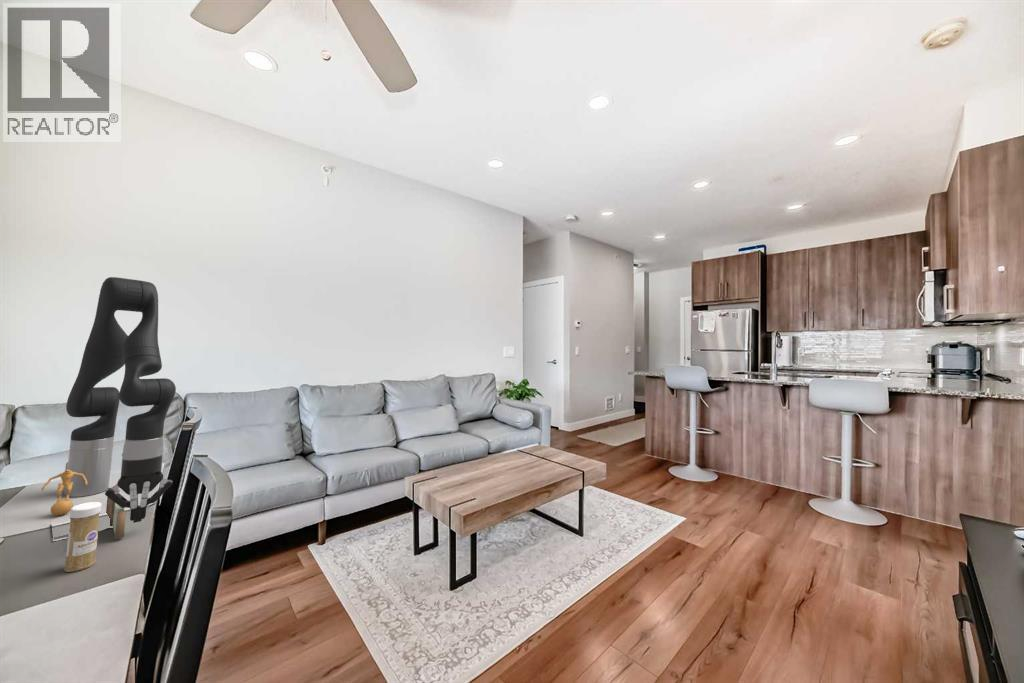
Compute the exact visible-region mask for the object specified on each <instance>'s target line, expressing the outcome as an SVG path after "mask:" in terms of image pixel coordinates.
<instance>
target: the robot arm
mask: <svg viewBox="0 0 1024 683" xmlns="http://www.w3.org/2000/svg"><path fill="white" fill-rule="evenodd" d="M117 311H124V312H135V313H142V317H141V319H140V322H139V323H138V324H137V325H136V327H135V328H134V329H133V330H132V331H131V332H130V334H129V335H128V334H127V332H125V330H124V329H123V328H122V326H120V324H119V322H118V321H117V318H116V316H115V313H116V312H117ZM95 312H96V313H95V316H94V321H93V324H92V328H91V331H90V333H89V336H88V339H87V342H86V343H85V346H84V347H85V348H84V351H83V354H82V358H81V362H80V367H79V370H78V374H77V377H76V378H75V381H74V383H73V386H72V388H71V390H70V392H69V395H68V398H67V399H66V405H65V406H66V408H65V409H66V413H67V415H68V416H70V417H72V418H89V417H90V418H91V417H99V418H98V419H96V420H95V421H93V422H91V423H88V424H86V425H84V426H83V425H82V426H80V427H77V428H74V429H73V430H72V431H71V433H70V444H69V449H68V460H67V462H66V463H65V466H64V467H65V468H64V469H65V470H71V471H72V472H77V473H80V474H83V475H84V476H85V478H86V480H87V482H88V485H86V483H85V481H84V479H83V478H82V476H77V475H73V477H72V478H71V480H70V482H73V485H72V489H71V491H70V492H71V493H70V494H69V498H74V497H75V498H76V497H86V496H93V495H96V494H99V493H102V492H104V495H105V496H106V497H108V498H110V499H111V500H112V501H114V502H115V503H116V504H117V505H119V506H120V507H121V508H124V509H125V508H128V509H130V514H129V515H130V517H129V520H130V521H133V522H132V523H133V524H134V523H141V522H142V520H143V519H145V517H146V515H147V506H149V505H151V504H154V503H156V502H157V501H158V500H159V499H160V498H161V497H162V496H163V494H165V493H166V491H168V490H169V489H170V488H171V486H172V485H173V479H167V478H165V477H164V474H163V472H162V466H163V453H164V426H165V420H166V417H167V414H168V411H169V408H170V407H171V405H172V402H173V400H174V399H175V396H176V389H177V387H176V384H175V383H174V381H173V380H172V379H169V378H166V377H165V378H164V377H163V378H142V377H146V376H152V375H155V374H157V373H159V372H160V371H161V370H162V367H163V363H162V358H161V352H160V347H159V338H158V333H159V330H158V329H159V294H158V290H157V287H156V286H155V284H154V283H152V282H149V281H146V280H138V279H131V278H125V277H116V276H115V277H113V276H111V277H107V278H105V280H104V281H103V282H102V285H101V288H100V291H99V295H98V301H97V307H96V311H95ZM122 367H124V375H123V379H122V380H123V381H122V382H121V387H120V389H118V388H117V387H115V386H102V387H100V386H97V387H95V386H96V385H97V384H98V383H100V382H101V381H102V380H105V379H107V378H108V377H109V376H111V375H113V374H114V373H116V372H118V371H119V370H120V369H122ZM120 402H121V403H122V405H124V406H126V407H132V408H133V407H145V406H152V407H151V408H150V409H149V410H148V411H146V412H143V413H139V414H135V415H132V416H130V417H129V418H128V419H127V420H126V427H125V428H126V430H125V439H124V444H123V448H122V453H121V457H122V459H121V466H120V467H121V470H120V478H118V481H117V483H116V484H115V485H113V486H112V487H110V479H111V470H112V469H111V468H112V461H113V451H114V443H115V442H114V440H115V431H116V424H117V417H118V411H119V406H120ZM65 470H64V471H65ZM84 483H85V484H84ZM158 485H159V489H157V490H156V491H155V492H154V493H153V494H152V495H151V496H150V497H149V494H150V492H152V491H153V490H154V489H155V488H157V486H158ZM120 491H122V492H124V493H125V494H127V495H128V496H129V499H127V498H125V497H124V496H123V495H122V494H121V493H120ZM67 492H68V490H67V489H66V486H64V488H63V490H62V494H64V496H65V497H66V496H67ZM139 494H141V497H140V502H139Z"/></svg>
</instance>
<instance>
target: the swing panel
mask: <svg viewBox="0 0 1024 683" xmlns="http://www.w3.org/2000/svg"><path fill="white" fill-rule="evenodd" d="M126 516H127V510H125V508H121V507H120V506H119V505H117V504H116V503H115V507H114V517H113V533H114V539H115V540H119V539H122V538H124V536H125V529H126V518H127V517H126Z"/></svg>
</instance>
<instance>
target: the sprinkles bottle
mask: <svg viewBox="0 0 1024 683" xmlns="http://www.w3.org/2000/svg"><path fill="white" fill-rule="evenodd" d="M101 511H102V503H101V502H98V501H89V502H83V503H80V504H76V505H73V507H72V508H71V510H70V511H69V520H70V527H69V532H68V539H66V540H67V541H66V542H67V543H66V550H65V558H66V559H65V566H64V567H63V571H65V572H67V573H71V572H72V573H74V572H78V571H82V570H85V569H87V568H90V567H92V566H93V565H94V564H95V562H96V550H97V544H98V537H99V536H98V533H99V532H98V523H99V514H100V513H102V512H101Z"/></svg>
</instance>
